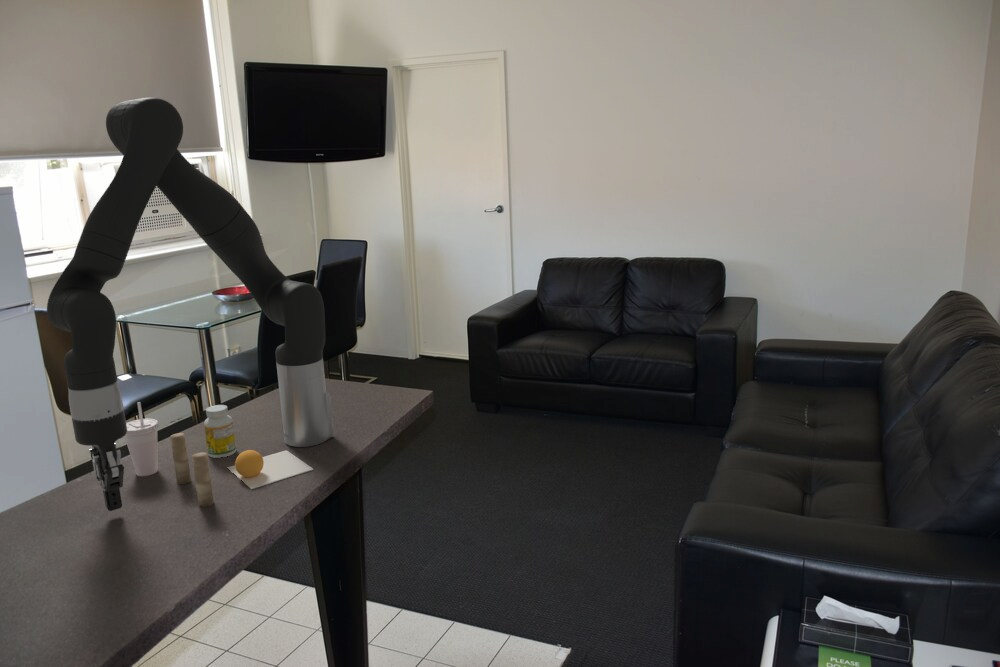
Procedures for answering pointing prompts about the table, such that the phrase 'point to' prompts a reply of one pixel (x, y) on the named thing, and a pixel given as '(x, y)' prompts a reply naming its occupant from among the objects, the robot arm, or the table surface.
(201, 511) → the table surface
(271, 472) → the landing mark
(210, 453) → the supplement bottle
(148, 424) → the smoothie
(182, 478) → the post
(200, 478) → the post
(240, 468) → the ball
